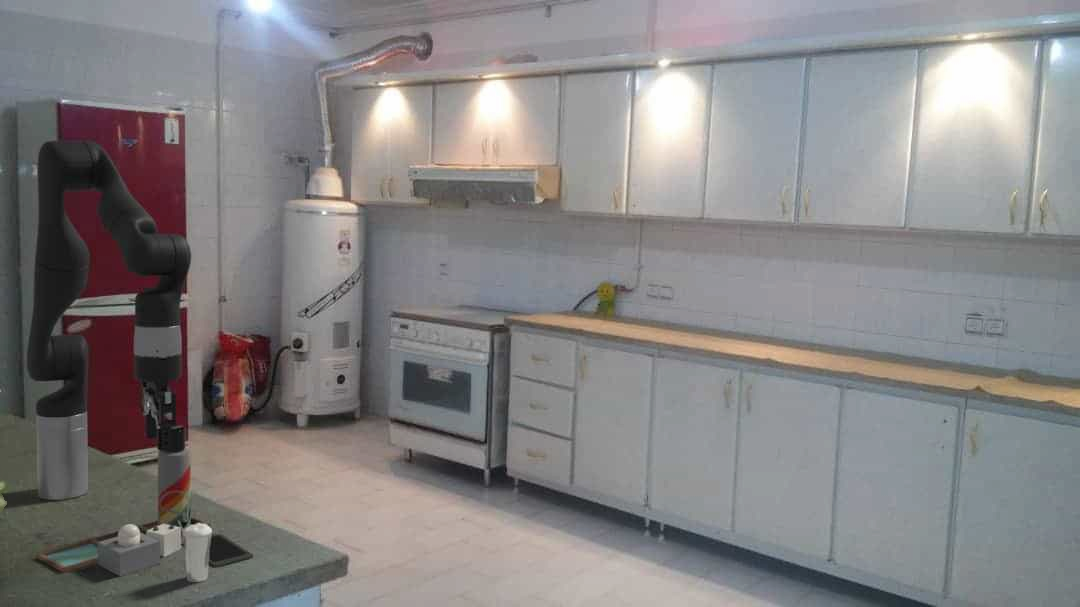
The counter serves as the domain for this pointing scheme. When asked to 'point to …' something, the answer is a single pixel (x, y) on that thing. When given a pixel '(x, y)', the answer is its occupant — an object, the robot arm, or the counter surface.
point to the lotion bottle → (174, 482)
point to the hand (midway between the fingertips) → (158, 444)
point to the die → (166, 538)
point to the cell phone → (225, 551)
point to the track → (87, 550)
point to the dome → (128, 536)
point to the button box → (128, 555)
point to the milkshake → (197, 551)
